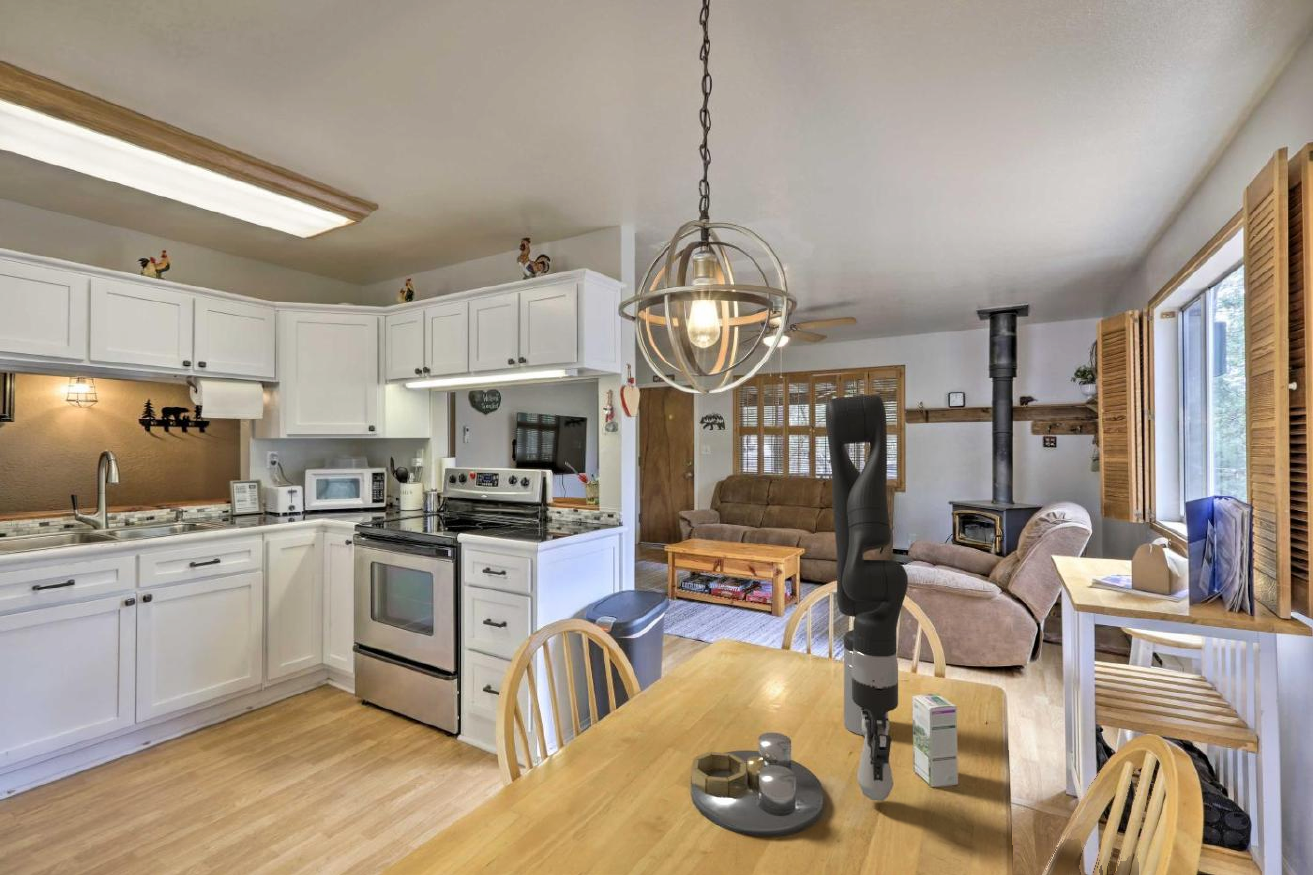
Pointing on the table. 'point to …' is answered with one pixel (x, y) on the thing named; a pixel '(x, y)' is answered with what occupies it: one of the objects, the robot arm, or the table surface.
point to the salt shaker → (866, 776)
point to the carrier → (757, 789)
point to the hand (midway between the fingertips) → (875, 775)
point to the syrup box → (935, 740)
